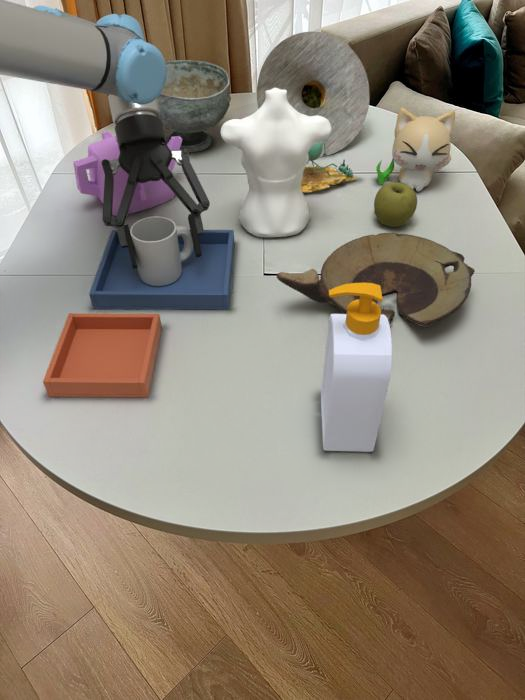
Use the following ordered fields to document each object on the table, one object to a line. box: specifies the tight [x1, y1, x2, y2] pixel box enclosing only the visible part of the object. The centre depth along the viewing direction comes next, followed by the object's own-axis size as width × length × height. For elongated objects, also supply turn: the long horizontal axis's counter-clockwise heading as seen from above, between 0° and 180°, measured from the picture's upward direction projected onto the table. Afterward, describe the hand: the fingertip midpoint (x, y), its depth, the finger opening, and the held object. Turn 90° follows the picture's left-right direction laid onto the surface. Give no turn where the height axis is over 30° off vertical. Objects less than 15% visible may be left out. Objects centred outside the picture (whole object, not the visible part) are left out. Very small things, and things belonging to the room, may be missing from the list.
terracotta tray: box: [42, 312, 163, 398], centre depth 80 cm, size 14×14×3 cm
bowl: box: [157, 59, 232, 153], centre depth 123 cm, size 20×19×15 cm
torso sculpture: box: [219, 88, 331, 238], centre depth 96 cm, size 18×10×25 cm, turn 95°
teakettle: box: [73, 131, 182, 217], centre depth 109 cm, size 17×17×12 cm
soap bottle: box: [320, 283, 393, 453], centre depth 65 cm, size 9×7×23 cm
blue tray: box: [88, 229, 236, 310], centre depth 94 cm, size 22×18×3 cm
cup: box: [129, 215, 193, 287], centre depth 92 cm, size 7×10×9 cm
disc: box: [256, 31, 370, 158], centre depth 127 cm, size 25×18×25 cm
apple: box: [373, 181, 418, 228], centre depth 103 cm, size 8×8×7 cm
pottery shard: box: [275, 232, 476, 327], centre depth 89 cm, size 22×30×8 cm
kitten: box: [376, 107, 456, 193], centre depth 110 cm, size 15×10×15 cm
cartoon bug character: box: [301, 141, 358, 194], centre depth 111 cm, size 10×18×15 cm, turn 83°
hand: (167, 261), depth 90 cm, fingers closed on cup, 10 cm apart
